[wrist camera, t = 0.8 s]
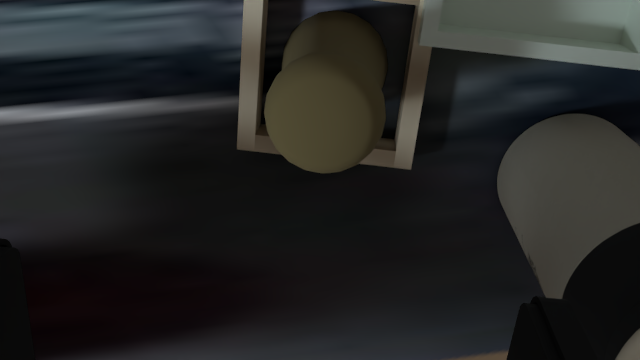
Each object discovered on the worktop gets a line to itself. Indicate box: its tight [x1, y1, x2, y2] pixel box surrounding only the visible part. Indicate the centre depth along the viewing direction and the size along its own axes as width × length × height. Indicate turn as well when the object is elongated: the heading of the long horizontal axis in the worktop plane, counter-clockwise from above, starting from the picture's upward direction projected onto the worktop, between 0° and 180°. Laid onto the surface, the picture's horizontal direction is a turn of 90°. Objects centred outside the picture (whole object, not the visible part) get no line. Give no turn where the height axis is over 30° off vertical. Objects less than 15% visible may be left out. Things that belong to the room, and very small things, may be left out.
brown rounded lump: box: [264, 10, 388, 174], centre depth 30 cm, size 6×6×11 cm
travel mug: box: [497, 114, 640, 360], centre depth 28 cm, size 8×8×18 cm
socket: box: [237, 0, 432, 170], centre depth 34 cm, size 10×10×2 cm
